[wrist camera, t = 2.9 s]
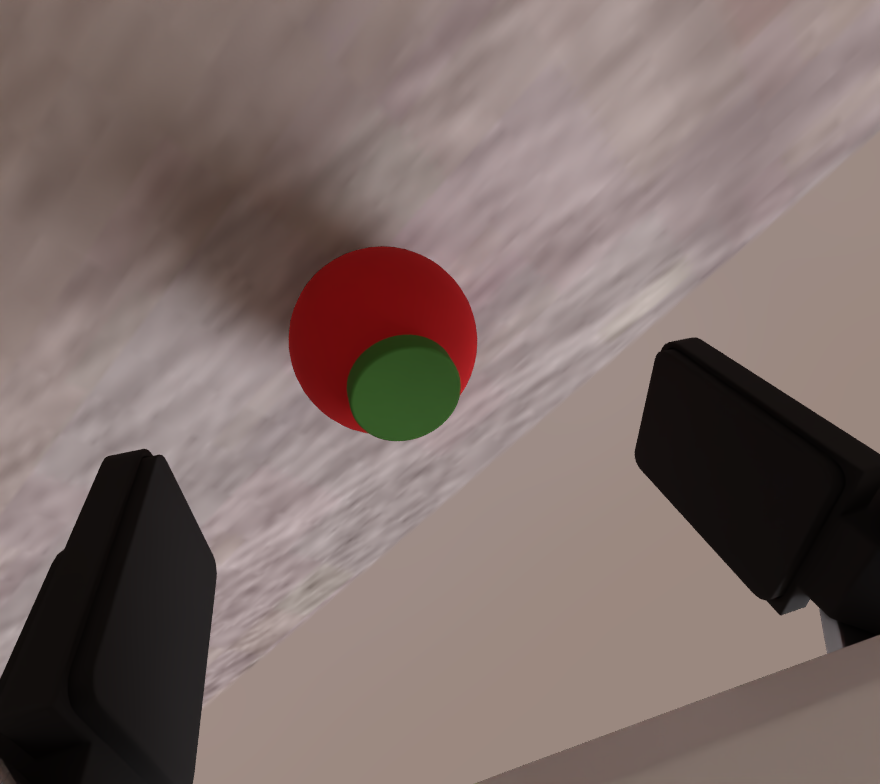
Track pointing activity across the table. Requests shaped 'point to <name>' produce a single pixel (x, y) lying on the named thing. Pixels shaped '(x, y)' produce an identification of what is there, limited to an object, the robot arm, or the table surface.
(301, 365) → the strawberry
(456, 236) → the table surface
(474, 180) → the table surface
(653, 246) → the table surface
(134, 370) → the table surface
